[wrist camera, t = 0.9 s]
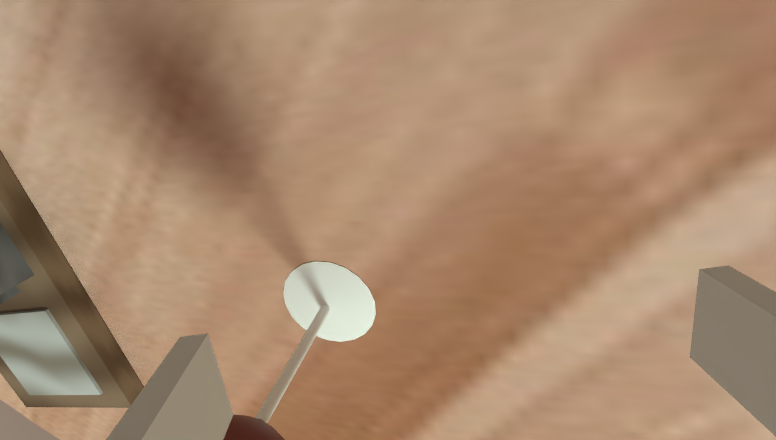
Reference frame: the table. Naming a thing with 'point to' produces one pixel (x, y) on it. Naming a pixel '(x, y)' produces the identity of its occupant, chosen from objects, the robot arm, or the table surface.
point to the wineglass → (312, 330)
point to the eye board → (51, 318)
